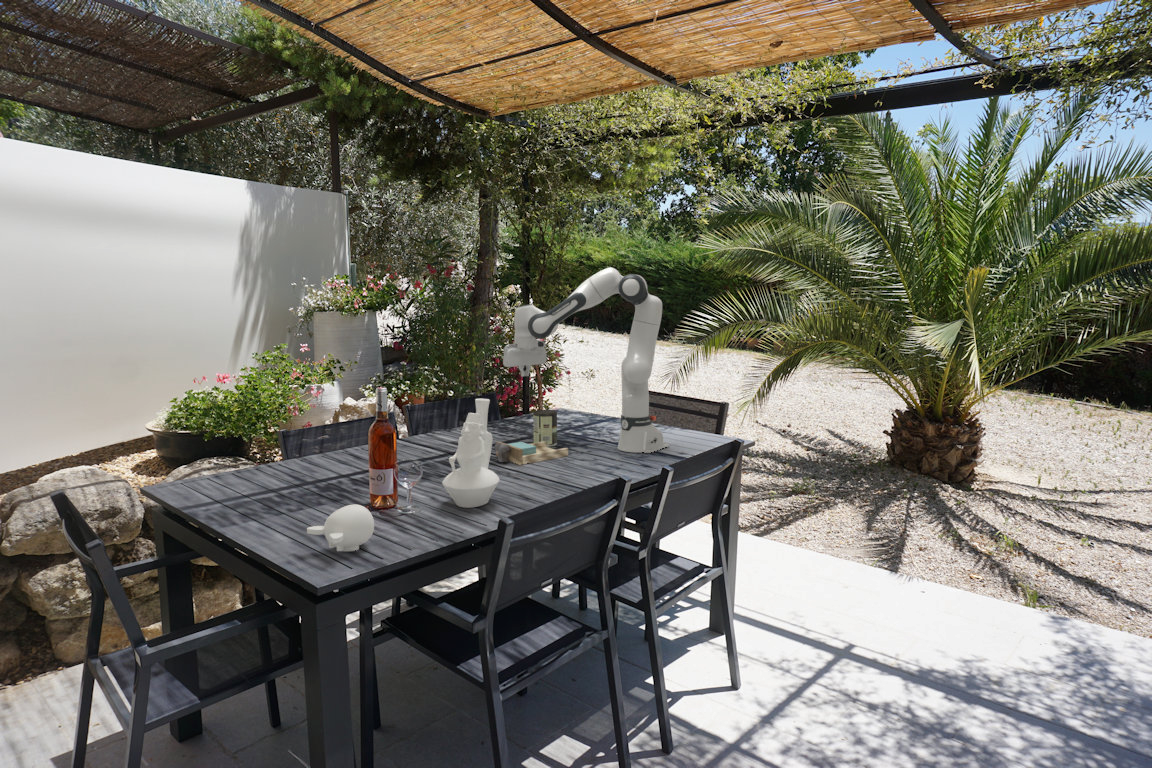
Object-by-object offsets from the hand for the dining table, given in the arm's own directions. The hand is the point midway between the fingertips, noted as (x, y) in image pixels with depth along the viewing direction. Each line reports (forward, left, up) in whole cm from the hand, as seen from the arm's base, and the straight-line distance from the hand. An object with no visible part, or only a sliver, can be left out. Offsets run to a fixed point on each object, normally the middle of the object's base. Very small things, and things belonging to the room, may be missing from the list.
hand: (525, 376), depth 302 cm
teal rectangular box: (+16, +20, -28) cm, 38 cm away
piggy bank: (+107, +69, -29) cm, 131 cm away
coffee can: (-6, +6, -29) cm, 31 cm away
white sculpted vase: (+59, +56, -29) cm, 86 cm away
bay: (+13, +20, -29) cm, 38 cm away
